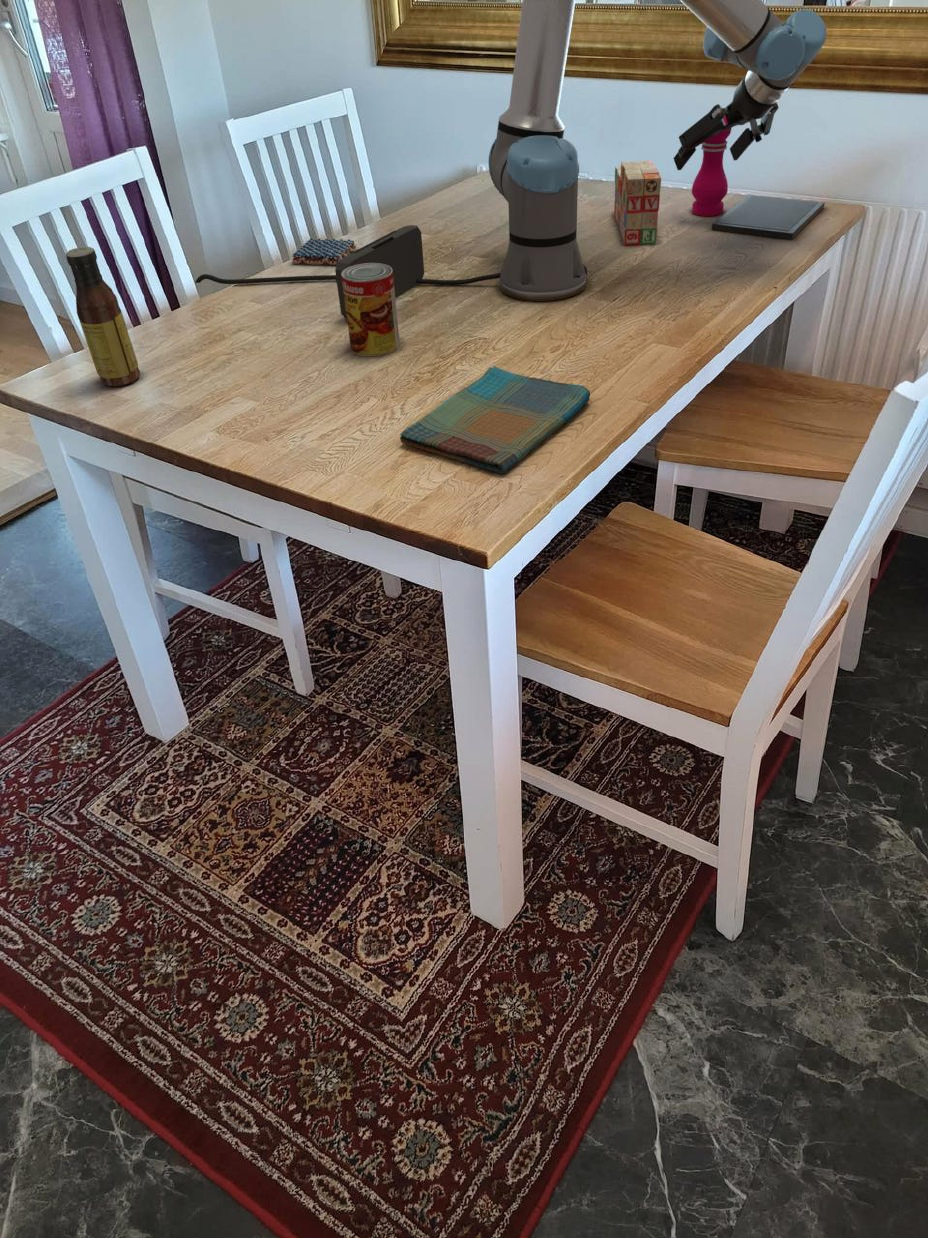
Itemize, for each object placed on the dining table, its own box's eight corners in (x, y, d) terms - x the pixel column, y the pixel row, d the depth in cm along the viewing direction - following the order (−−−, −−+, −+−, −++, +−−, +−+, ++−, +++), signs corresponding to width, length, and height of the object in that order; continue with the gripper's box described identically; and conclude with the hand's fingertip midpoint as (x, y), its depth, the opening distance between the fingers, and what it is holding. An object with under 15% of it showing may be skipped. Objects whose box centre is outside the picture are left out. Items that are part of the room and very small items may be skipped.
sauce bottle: (125, 367, 154) (89, 239, 142) (149, 377, 151) (114, 246, 138) (90, 383, 150) (49, 252, 138) (114, 392, 147) (74, 260, 135)
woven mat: (290, 265, 189) (288, 254, 188) (309, 247, 197) (308, 237, 196) (340, 266, 187) (339, 256, 185) (358, 248, 195) (357, 238, 193)
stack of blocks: (613, 212, 205) (615, 149, 197) (643, 211, 205) (647, 148, 197) (624, 245, 188) (627, 178, 181) (656, 244, 188) (661, 176, 180)
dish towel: (594, 403, 136) (595, 386, 135) (506, 477, 121) (505, 459, 120) (491, 378, 144) (491, 362, 143) (396, 445, 129) (395, 428, 128)
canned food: (345, 342, 158) (335, 267, 150) (391, 333, 160) (383, 259, 152) (358, 360, 152) (348, 283, 144) (406, 350, 154) (399, 274, 146)
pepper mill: (687, 216, 201) (697, 108, 188) (691, 206, 206) (701, 101, 194) (723, 217, 199) (735, 109, 186) (726, 207, 204) (738, 101, 192)
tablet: (791, 239, 186) (792, 232, 185) (711, 229, 193) (712, 223, 192) (823, 208, 200) (825, 201, 200) (748, 199, 207) (748, 193, 207)
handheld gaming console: (413, 277, 180) (408, 221, 174) (425, 279, 179) (421, 223, 173) (339, 321, 165) (331, 261, 159) (352, 323, 164) (345, 263, 158)
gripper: (711, 115, 174) (659, 185, 194) (823, 97, 181) (762, 166, 201) (697, 77, 174) (646, 151, 195) (810, 61, 182) (749, 133, 202)
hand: (705, 159), depth 198 cm, fingers open, 13 cm apart
